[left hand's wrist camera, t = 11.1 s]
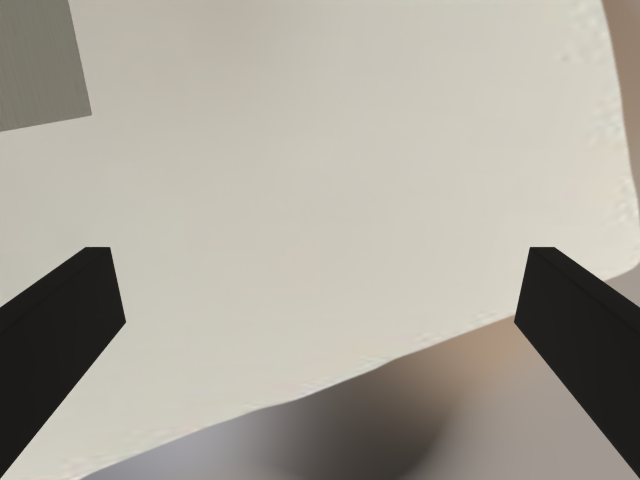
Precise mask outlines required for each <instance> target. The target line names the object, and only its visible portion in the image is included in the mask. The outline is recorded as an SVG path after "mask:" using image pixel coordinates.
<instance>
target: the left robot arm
mask: <svg viewBox="0 0 640 480" xmlns="http://www.w3.org/2000/svg"><path fill="white" fill-rule="evenodd" d="M125 323H126V320H125V315H124V310H123V306H122V301H121V296H120V292H119V287H118V282H117V278H116V273H115V268H114V263H113V259H112V254H111V249H110V247H85V248H84V249H82V250H81V251H79V252H78V253H77V254H75V255H74V256H72V257H71V258H70V259H68V260H67V261H65V262H64V263H62V264H61V265H60V266H58V267H57V268H55V269H54V270H53V271H51V272H50V273H48V274H47V275H46V276H44V277H43V278H41V279H40V280H38V281H37V282H36V283H34V284H33V285H31V286H30V287H29V288H27V289H26V290H24V291H23V292H22V293H20V294H19V295H17V296H16V297H14V298H13V299H12V300H10V301H9V302H7V303H6V304H5V305H3V306H2V307H0V478H1V477H2V476H3V475H4V473H5V472H6V471H7V470H8V468H9V467H10V466H11V465H12V463H13V462H14V461H15V460H16V458H17V457H18V456H19V455H20V454H21V452H22V451H23V450H24V449H25V447H26V446H27V445H28V444H29V442H30V441H31V440H32V439H33V437H34V436H35V435H36V434H37V432H38V431H39V430H40V429H41V427H42V426H43V425H44V424H45V422H46V421H47V420H48V419H49V417H50V416H51V415H52V414H53V412H54V411H55V410H56V409H57V407H58V406H59V405H60V404H61V403H62V401H63V400H64V399H65V398H66V396H67V395H68V394H69V393H70V391H71V390H72V389H73V388H74V386H75V385H76V384H77V383H78V381H79V380H80V379H81V378H82V376H83V375H84V374H85V373H86V371H87V370H88V369H89V368H90V366H91V365H92V364H93V363H94V361H95V360H96V359H97V358H98V357H99V355H100V354H101V353H102V352H103V350H104V349H105V348H106V347H107V345H108V344H109V343H110V342H111V340H112V339H113V338H114V337H115V335H116V334H117V333H118V332H119V330H120V329H121V328H122V327H123V325H124V324H125ZM514 323H515V324H516V325H517V327H518V328H519V329H520V330H521V332H522V333H523V334H524V335H525V337H526V338H527V339H528V340H529V342H530V343H531V344H532V345H533V347H534V348H535V349H536V350H537V352H538V353H539V354H540V355H541V357H542V358H543V359H544V360H545V361H546V363H547V364H548V365H549V366H550V368H551V369H552V370H553V371H554V372H555V374H556V375H557V376H558V378H559V379H560V380H561V381H562V383H563V384H564V385H565V386H566V388H567V389H568V390H569V391H570V392H571V394H572V395H573V396H574V398H575V399H576V400H577V401H578V403H579V404H580V405H581V406H582V407H583V409H584V410H585V411H586V412H587V414H588V415H589V416H590V417H591V419H592V420H593V421H594V422H595V424H596V425H597V426H598V427H599V429H600V430H601V431H602V432H603V434H604V435H605V436H606V437H607V439H608V440H609V441H610V442H611V444H612V445H613V446H614V447H615V449H616V450H617V451H618V452H619V453H620V455H621V456H622V457H623V458H624V460H625V461H626V462H627V463H628V465H629V466H630V467H631V468H632V470H633V471H634V472H635V473H636V475H637V476H638V477H639V478H640V307H638V306H637V305H635V304H634V303H633V302H631V301H630V300H628V299H627V298H626V297H624V296H623V295H621V294H620V293H618V292H617V291H616V290H614V289H613V288H611V287H610V286H609V285H607V284H606V283H604V282H603V281H602V280H600V279H599V278H597V277H596V276H594V275H593V274H592V273H590V272H589V271H587V270H586V269H585V268H583V267H582V266H580V265H579V264H578V263H576V262H575V261H573V260H572V259H570V258H569V257H568V256H566V255H565V254H563V253H562V252H561V251H559V250H558V249H556V248H555V247H530V249H529V254H528V259H527V263H526V268H525V273H524V278H523V282H522V287H521V292H520V296H519V301H518V306H517V310H516V315H515V320H514Z"/></svg>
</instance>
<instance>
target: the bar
mask: <svg viewBox="0 0 640 480" xmlns="http://www.w3.org/2000/svg"><path fill="white" fill-rule="evenodd" d="M91 115H92V112H91V107H90V102H89V98H88V93H87V88H86V83H85V79H84V74H83V69H82V64H81V60H80V55H79V50H78V45H77V41H76V36H75V31H74V26H73V22H72V17H71V12H70V7H69V3H68V0H0V132H2V131H7V130H13V129H19V128H24V127H30V126H35V125H41V124H47V123H52V122H58V121H63V120H69V119H74V118H80V117H86V116H91Z"/></svg>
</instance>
